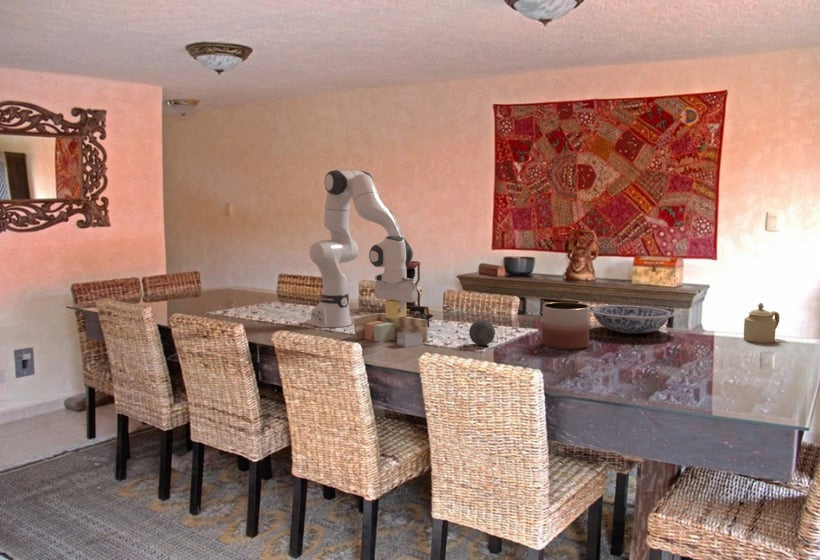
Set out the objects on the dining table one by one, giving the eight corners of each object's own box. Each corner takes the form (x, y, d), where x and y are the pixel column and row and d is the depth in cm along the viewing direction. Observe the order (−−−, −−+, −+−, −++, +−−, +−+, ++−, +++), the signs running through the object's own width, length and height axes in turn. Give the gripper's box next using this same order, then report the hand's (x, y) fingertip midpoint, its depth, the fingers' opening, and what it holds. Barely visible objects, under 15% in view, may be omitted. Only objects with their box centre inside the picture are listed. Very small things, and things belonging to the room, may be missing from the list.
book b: (374, 340, 268) (373, 325, 267) (387, 337, 273) (387, 322, 273) (381, 342, 265) (380, 326, 264) (394, 338, 271) (394, 323, 270)
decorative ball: (464, 343, 260) (464, 318, 259) (486, 341, 264) (486, 316, 263) (477, 349, 251) (477, 323, 250) (499, 346, 255) (499, 321, 254)
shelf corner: (354, 339, 270) (354, 317, 269) (380, 333, 281) (380, 312, 280) (401, 348, 253) (401, 325, 251) (427, 342, 264) (427, 319, 263)
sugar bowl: (749, 334, 273) (751, 298, 271) (779, 337, 266) (781, 301, 264) (740, 340, 261) (742, 303, 259) (771, 344, 254) (774, 305, 252)
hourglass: (420, 313, 330) (420, 263, 327) (388, 313, 330) (387, 263, 327) (420, 307, 346) (420, 260, 343) (390, 308, 346) (389, 260, 343)
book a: (364, 339, 271) (364, 323, 270) (378, 335, 277) (378, 320, 276) (371, 340, 269) (371, 324, 268) (385, 337, 274) (384, 321, 274)
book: (385, 317, 262) (385, 301, 261) (399, 314, 268) (398, 299, 267) (392, 318, 259) (392, 302, 258) (406, 315, 265) (406, 299, 264)
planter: (562, 352, 244) (563, 310, 242) (532, 343, 259) (532, 304, 258) (598, 347, 252) (599, 306, 250) (567, 339, 268) (568, 300, 266)
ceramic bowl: (686, 331, 279) (687, 308, 278) (652, 345, 254) (653, 319, 253) (610, 322, 303) (611, 300, 301) (572, 333, 278) (573, 310, 276)
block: (397, 344, 260) (397, 332, 260) (414, 342, 265) (414, 330, 264) (405, 347, 255) (405, 335, 255) (422, 345, 260) (422, 332, 259)
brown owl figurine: (408, 305, 301) (445, 305, 282) (409, 328, 301) (447, 331, 282) (382, 307, 292) (419, 308, 272) (384, 332, 292) (420, 334, 273)
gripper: (420, 278, 257) (420, 313, 259) (382, 274, 271) (383, 308, 272) (409, 279, 252) (410, 315, 254) (371, 276, 266) (372, 310, 268)
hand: (396, 311), depth 263 cm, fingers closed on book, 4 cm apart
